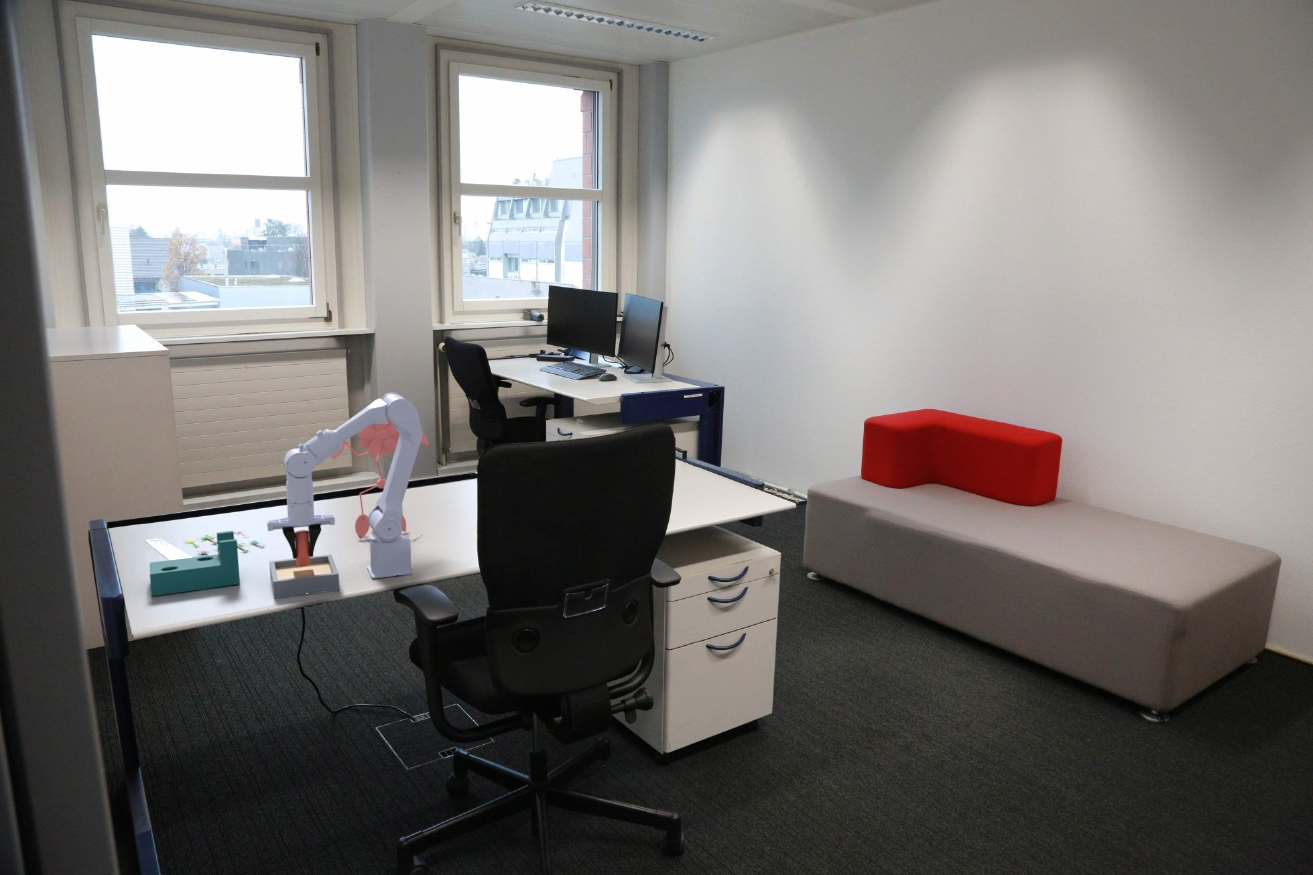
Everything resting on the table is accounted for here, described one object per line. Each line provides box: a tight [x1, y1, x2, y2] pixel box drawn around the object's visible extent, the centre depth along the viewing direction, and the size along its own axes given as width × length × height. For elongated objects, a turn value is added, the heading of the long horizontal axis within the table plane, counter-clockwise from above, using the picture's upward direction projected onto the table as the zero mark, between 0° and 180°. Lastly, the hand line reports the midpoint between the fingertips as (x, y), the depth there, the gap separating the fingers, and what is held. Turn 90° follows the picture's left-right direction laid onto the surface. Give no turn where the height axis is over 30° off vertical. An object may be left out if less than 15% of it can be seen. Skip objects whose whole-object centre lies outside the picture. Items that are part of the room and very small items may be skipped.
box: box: [269, 554, 340, 599], centre depth 211 cm, size 14×14×4 cm
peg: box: [294, 529, 310, 567], centre depth 210 cm, size 3×3×8 cm
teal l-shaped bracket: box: [149, 530, 241, 597], centre depth 208 cm, size 18×11×10 cm, turn 119°
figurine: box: [330, 419, 429, 543], centre depth 241 cm, size 15×26×35 cm, turn 123°
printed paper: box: [145, 531, 266, 560], centre depth 236 cm, size 30×30×2 cm
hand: (302, 556), depth 210 cm, fingers closed on peg, 3 cm apart
